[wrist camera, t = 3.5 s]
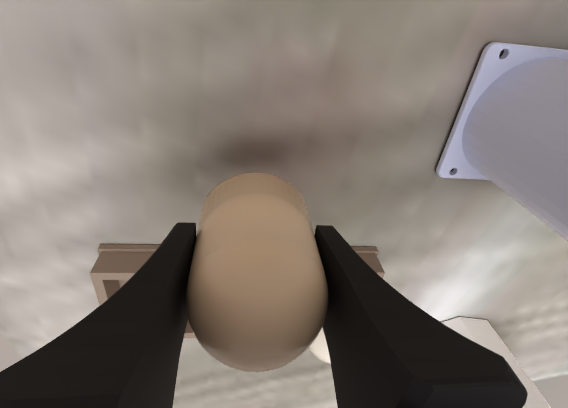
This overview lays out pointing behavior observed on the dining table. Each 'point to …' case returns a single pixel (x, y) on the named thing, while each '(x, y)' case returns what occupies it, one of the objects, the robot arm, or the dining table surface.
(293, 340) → the tan egg
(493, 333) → the toilet paper
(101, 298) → the egg carton
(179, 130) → the dining table surface
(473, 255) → the dining table surface
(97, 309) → the robot arm
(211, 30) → the dining table surface
